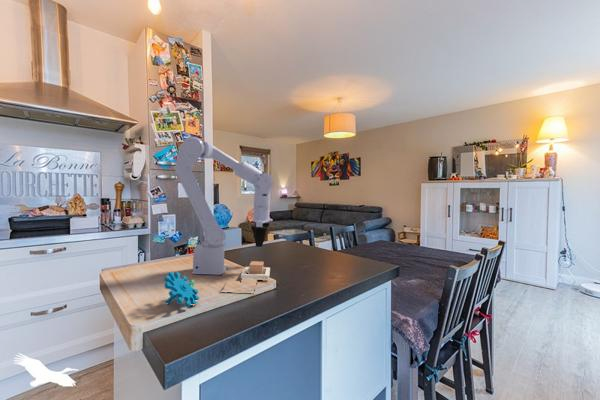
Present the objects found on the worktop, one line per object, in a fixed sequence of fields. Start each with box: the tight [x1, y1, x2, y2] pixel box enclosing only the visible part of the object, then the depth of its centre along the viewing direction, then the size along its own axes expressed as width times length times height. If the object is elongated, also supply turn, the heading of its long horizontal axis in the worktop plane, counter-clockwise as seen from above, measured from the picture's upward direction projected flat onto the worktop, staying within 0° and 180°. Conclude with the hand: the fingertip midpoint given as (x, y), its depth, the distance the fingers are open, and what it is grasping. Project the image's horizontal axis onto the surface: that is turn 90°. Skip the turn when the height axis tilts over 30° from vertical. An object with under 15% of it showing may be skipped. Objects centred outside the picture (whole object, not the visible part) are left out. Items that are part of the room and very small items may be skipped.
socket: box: [240, 266, 271, 279], centre depth 86 cm, size 8×8×2 cm
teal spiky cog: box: [163, 271, 200, 308], centre depth 64 cm, size 11×6×10 cm
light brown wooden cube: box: [248, 260, 265, 274], centre depth 86 cm, size 4×4×4 cm
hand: (260, 244), depth 96 cm, fingers open, 7 cm apart
